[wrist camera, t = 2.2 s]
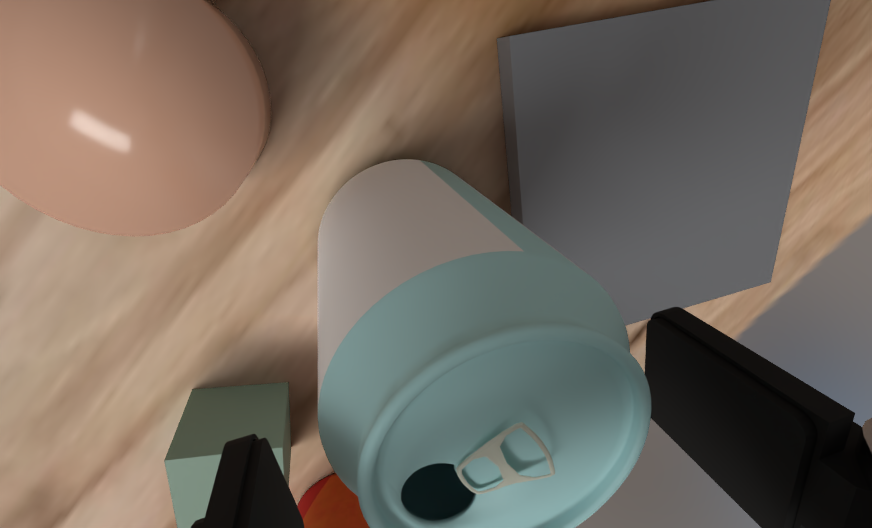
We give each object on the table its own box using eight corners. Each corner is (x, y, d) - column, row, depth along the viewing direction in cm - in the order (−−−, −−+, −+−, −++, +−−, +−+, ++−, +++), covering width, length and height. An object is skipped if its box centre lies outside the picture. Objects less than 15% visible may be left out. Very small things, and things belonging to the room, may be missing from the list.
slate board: (496, 38, 16) (509, 36, 15) (805, -16, 18) (835, -21, 17) (522, 339, 22) (532, 353, 21) (750, 272, 24) (770, 282, 23)
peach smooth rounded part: (-21, -9, 12) (-156, -40, 9) (229, -42, 13) (198, -82, 10) (100, 218, 16) (36, 262, 12) (296, 176, 17) (290, 205, 13)
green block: (193, 388, 19) (164, 460, 15) (288, 380, 20) (282, 447, 17) (202, 455, 21) (179, 536, 17) (291, 446, 22) (286, 519, 18)
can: (442, 326, 21) (571, 592, 10) (295, 288, 18) (264, 592, 8) (506, 191, 19) (751, 348, 8) (352, 127, 16) (417, 235, 6)
